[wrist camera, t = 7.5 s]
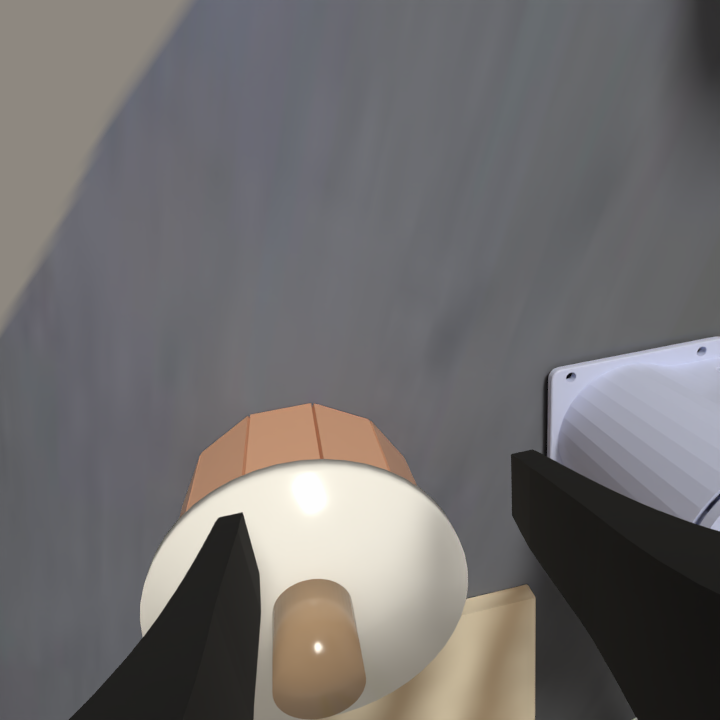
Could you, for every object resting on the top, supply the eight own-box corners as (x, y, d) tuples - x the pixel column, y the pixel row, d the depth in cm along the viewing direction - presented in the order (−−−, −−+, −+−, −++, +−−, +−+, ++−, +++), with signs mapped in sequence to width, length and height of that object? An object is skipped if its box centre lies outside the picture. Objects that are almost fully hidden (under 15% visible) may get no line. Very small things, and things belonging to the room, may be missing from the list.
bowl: (396, 386, 23) (427, 439, 19) (417, 563, 28) (445, 643, 23) (159, 432, 22) (129, 501, 18) (217, 610, 26) (206, 703, 22)
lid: (500, 477, 20) (552, 547, 16) (416, 703, 24) (443, 799, 20) (161, 439, 17) (131, 514, 13) (132, 705, 21) (102, 818, 17)
